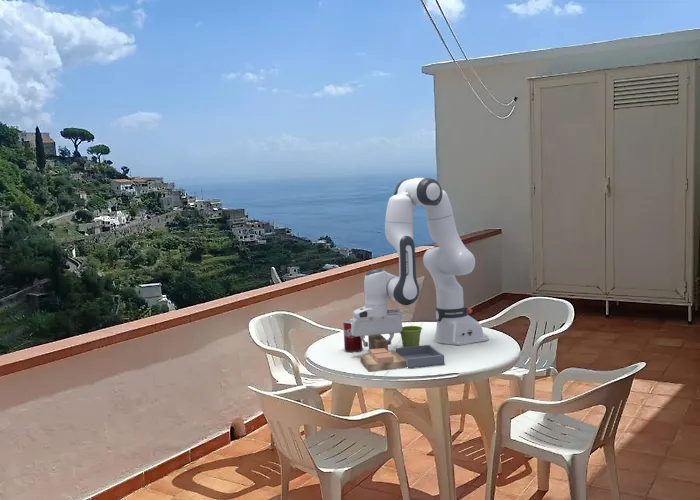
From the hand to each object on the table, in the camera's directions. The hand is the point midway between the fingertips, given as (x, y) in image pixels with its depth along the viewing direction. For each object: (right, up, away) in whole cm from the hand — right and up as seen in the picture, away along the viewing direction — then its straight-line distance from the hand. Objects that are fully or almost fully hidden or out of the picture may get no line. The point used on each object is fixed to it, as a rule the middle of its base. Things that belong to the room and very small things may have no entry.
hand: (377, 345), depth 256 cm
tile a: (0, -2, -11) cm, 11 cm away
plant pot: (+14, -3, +5) cm, 15 cm away
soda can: (-9, -3, +9) cm, 13 cm away
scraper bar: (0, -4, +1) cm, 4 cm away
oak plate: (+1, -5, -14) cm, 15 cm away
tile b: (+1, -3, -18) cm, 18 cm away
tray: (+15, -4, -12) cm, 20 cm away
